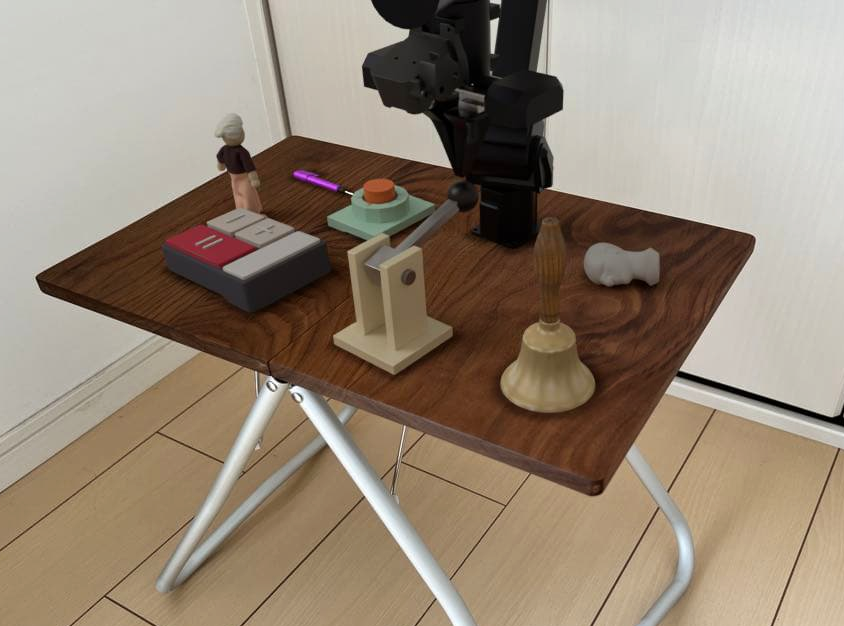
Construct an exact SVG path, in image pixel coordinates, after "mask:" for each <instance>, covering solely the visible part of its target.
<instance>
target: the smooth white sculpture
mask: <svg viewBox="0 0 844 626" xmlns="http://www.w3.org/2000/svg"><path fill="white" fill-rule="evenodd" d="M660 258H661V257H660V253H659V252H658V251H657V250H655V249H654V248H652V247H649V248H646V249H645V250H641V251H630V250H624V249H622V248H621V247H619V246H617V245H615V244H613V243H610V242H609V243H608V242H598V243H595V244H592V245H591V246H590V247H589V248H588V249H587V251H586V253H585V255H584V259H583V270H584V272H585V274H586V276H587V278H588V279H589V280H590V281H591V282H592V283H593V284H595V285H597V286H601V285H604V286H606V287H608V288H609V287H610V288H611V287H613V286H618V285H628V284H630V283H631V281H632V280H639V281H644V282H645V283H646V284H647V285H648V286H650V287H652V286H654V285H656V284H658V283H660V273H661V272H660V269H661V259H660Z"/></svg>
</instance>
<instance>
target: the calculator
mask: <svg viewBox="0 0 844 626" xmlns="http://www.w3.org/2000/svg"><path fill="white" fill-rule="evenodd" d="M165 242H166V243H165ZM165 242H164V243H163V244H161V248H162V249H161V250H162V253H163V256H164V259H165V263H166V266H167V269H168V270H169V271H170V272H172V273H175V274H176V275H178V276H180V277H183V278H185V279H187V280H189V281H191V282H193V283H196V284H197V285H199V286H201V287H203V288H206V289H208V290H209V291H212V292H214V293H216V294H218V295H219V296H222V297H223V298H224V300H226V302H227V303H229V304H231V305H233V306H234V307H236V308H238V309H240V310H242V311H244V312H246V313H248V314H255V313H256V312H258V311H260V310H262V309H264V308H266V307H267V306H270V305H271V304H273V303H275V302H277V301H279V300H281V299H283V298H284V297H287V296H288V295H291V294H292V293H294V292H296V291H297V290H300V289H301V288H304V287H305V286H307V285H309V284H311V283H313V282H315V281H316V280H318V279H320V278H322V277H324V276H326V275H328V274H330V273H331V271H332V266H331V261H330V256H329V249H328V244H327V241H326V240H324V239H321V238H319V237H316V236H313V235H311V234H308V233H307V232H303V231H301V230H297V229H295V227H293V226H291V225H289V224H285V223H284V222H281V221H279V220H278V221H277V220H275V219H272V218H269V217H268V219H265V217H264V216H262V215H259V214H256V213H254V212H251V211H248V210H246V209H243V208H238V209H236V208H234V209H233V210H231V211H229V212H226V213H223V214H222V215H219V216H217V217H215V218H213V219H210V220H208V221H207V222H206V225H204V224H199V225H196V226H194V227H192V228H190V229H187V230H184V231H183V232H180V233H178V234H176V235H173V236H171V237H169V238H167V239H165Z"/></svg>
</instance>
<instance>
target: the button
mask: <svg viewBox="0 0 844 626" xmlns="http://www.w3.org/2000/svg"><path fill="white" fill-rule="evenodd" d="M395 185H396V184H395V183H394V181H392V180H390V179H387V178H375V179H374V178H373V179H371V180H368V181H365V183H364V184H363V187H362V188H363V189H364V198H365V202H367V203H370V204H384V203H389V202H391V201H393V200H395V198H396V196H395Z"/></svg>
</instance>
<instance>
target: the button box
mask: <svg viewBox="0 0 844 626" xmlns="http://www.w3.org/2000/svg"><path fill="white" fill-rule="evenodd" d="M394 185H395V196H396V198H395V200H393V201H391V202H389V203H384V204H370V203H367V202H365V198H364V189H363V187H362V188H359V189H358V190H356V191H354V193H353V195H351V198H350V201H351V204H350V205H347V206H346V207H344V208H342V209H339V210H338V211H336V212H334V213H332V214H330V215H327V216H326V220H327V226H328V227H330V228H333V229H336V230H338V231H341V232H343V233H349V234H351V235H353V236H355V237H359V238H361V239H362V240H365V241H368V240H370V239H372V238H373V237H375V236H377V235H379V234H381V233H384V234H386V235H389V236H390V237H391V236H393V235H395V234H397V233H399V232H401V231H403V230H405V229H406V228H408V227H410V226H412V225H414V224H416V223H417V222H419V221H422V220H423V219H425V218H428V217H430V216H431V215H432V214H433V213H434V212H435V211H436V203H433V202H430V201H426V200H424V199H421V198H419V197H416V196H413V195H410V194H409V192H408V191H407V190H406V188H405V187H401V186H400V185H396V184H394Z"/></svg>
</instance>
